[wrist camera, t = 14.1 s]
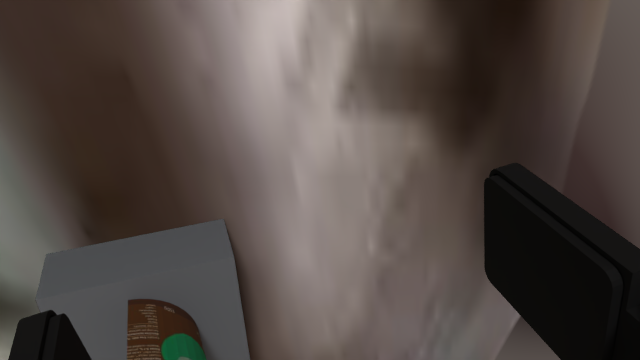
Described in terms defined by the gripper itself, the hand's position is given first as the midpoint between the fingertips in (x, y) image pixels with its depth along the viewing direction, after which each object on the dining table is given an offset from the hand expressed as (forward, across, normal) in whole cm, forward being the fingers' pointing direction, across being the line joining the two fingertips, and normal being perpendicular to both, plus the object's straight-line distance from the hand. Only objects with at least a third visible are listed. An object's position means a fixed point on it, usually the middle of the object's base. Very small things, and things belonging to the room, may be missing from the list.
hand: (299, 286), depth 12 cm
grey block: (+31, +9, +23) cm, 40 cm away
